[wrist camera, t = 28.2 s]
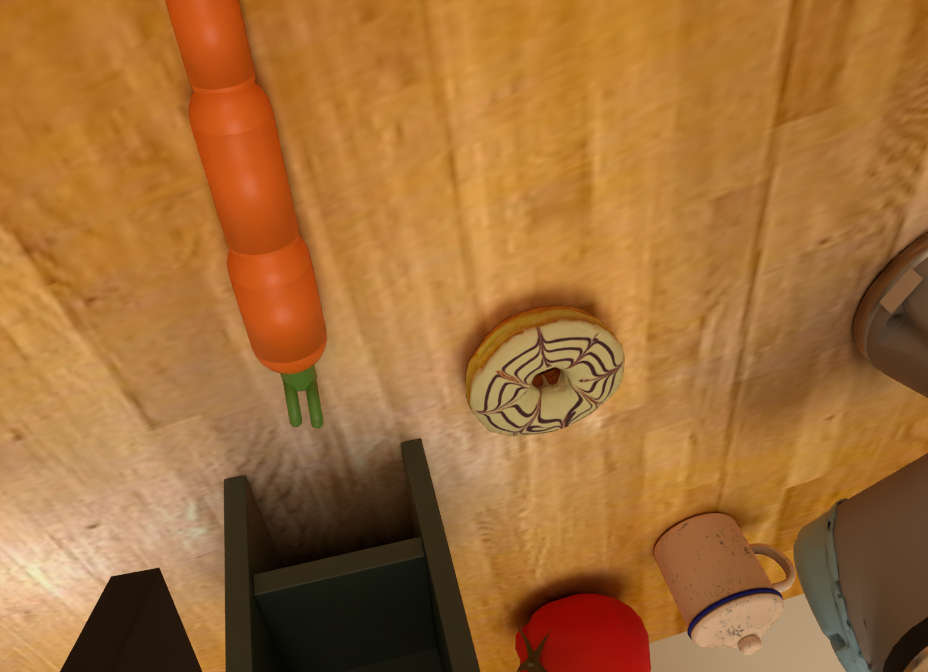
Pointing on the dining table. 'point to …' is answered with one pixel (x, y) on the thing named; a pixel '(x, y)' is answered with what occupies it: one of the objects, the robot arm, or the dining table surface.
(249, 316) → the carrot
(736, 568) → the teacup with lid
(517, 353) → the decorated donut
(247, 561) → the stand
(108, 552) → the dining table surface
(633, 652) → the tomato
